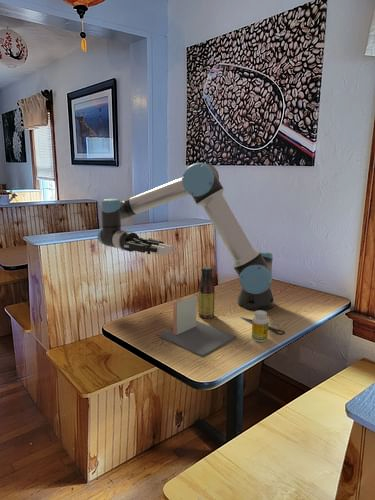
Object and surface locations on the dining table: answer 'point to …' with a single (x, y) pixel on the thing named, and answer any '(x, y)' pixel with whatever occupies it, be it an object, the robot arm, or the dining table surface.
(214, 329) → the rubber mat
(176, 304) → the terracotta tile
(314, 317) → the dining table surface
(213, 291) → the sauce bottle
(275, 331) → the throwing knife
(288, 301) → the dining table surface
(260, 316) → the supplement bottle
